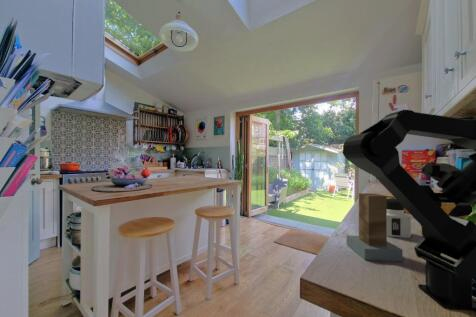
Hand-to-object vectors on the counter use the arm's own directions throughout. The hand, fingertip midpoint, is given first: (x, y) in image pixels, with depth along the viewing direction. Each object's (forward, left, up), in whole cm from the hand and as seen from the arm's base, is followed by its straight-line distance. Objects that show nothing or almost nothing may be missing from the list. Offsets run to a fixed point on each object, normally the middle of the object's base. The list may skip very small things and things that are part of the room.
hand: (431, 216), depth 54 cm
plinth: (+6, +12, -13) cm, 18 cm away
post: (+5, +12, -10) cm, 16 cm away
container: (+24, -4, -13) cm, 27 cm away
